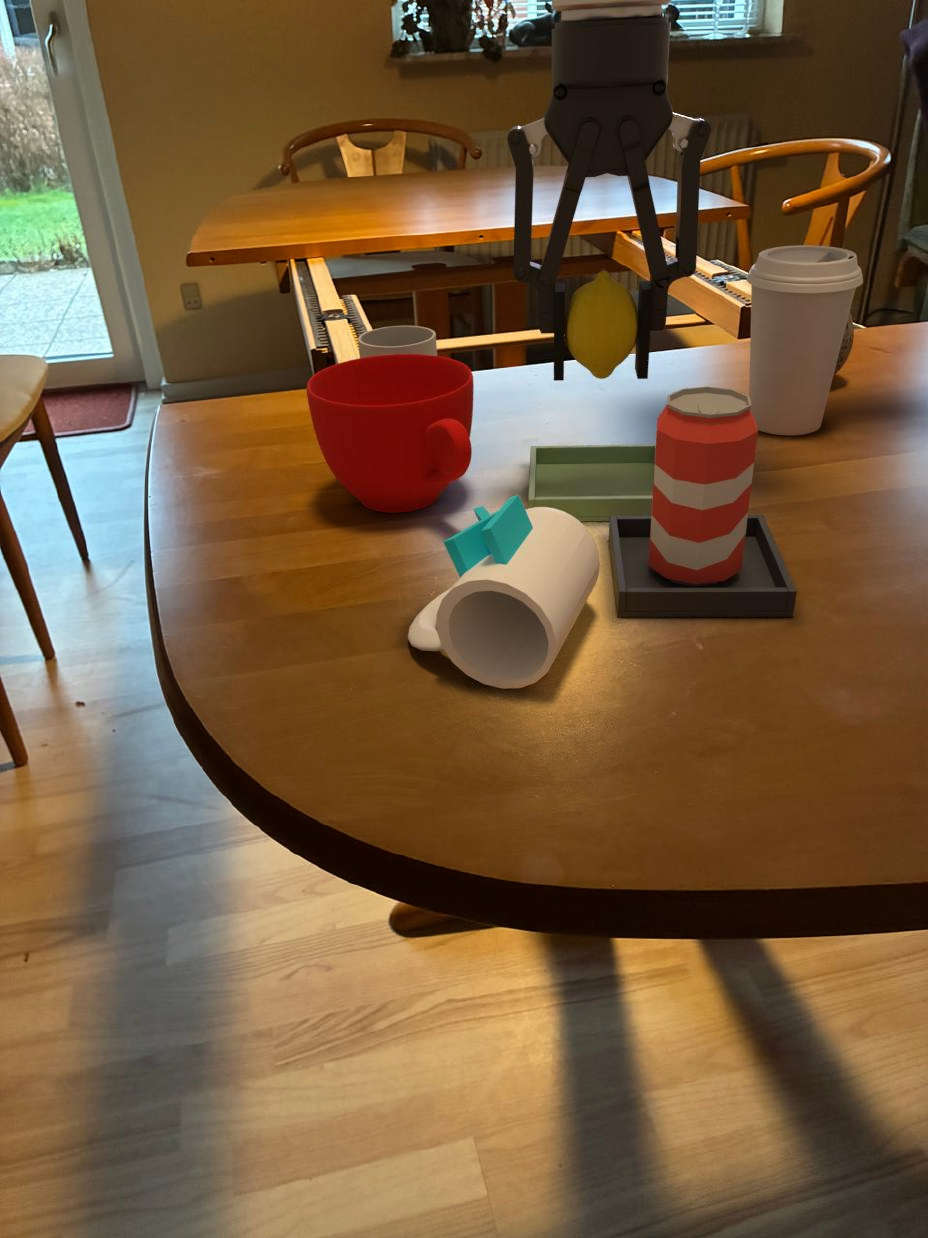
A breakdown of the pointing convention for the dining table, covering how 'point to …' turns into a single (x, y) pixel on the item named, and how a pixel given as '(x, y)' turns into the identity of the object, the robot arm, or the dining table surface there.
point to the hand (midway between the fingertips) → (599, 373)
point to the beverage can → (702, 485)
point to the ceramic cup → (394, 426)
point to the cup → (397, 341)
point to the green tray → (593, 480)
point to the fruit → (601, 325)
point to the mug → (511, 594)
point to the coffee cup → (797, 332)
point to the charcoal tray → (742, 595)
